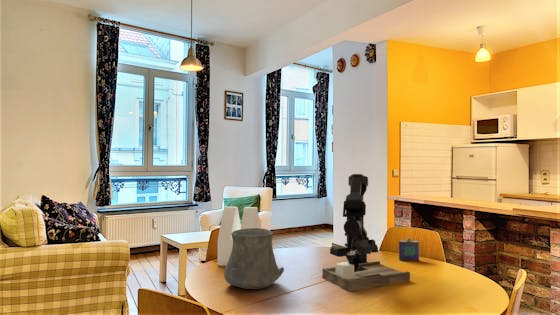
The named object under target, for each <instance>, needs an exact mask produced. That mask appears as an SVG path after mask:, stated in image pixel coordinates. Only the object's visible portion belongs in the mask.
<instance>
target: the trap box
mask: <svg viewBox="0 0 560 315" xmlns="http://www.w3.org/2000/svg"><path fill="white" fill-rule="evenodd" d="M368 262H369V263H361V264H359V265H358V268H357V271H356V272H354V277H353V278H347V279H346V278H344V277H341V276H339V275H337V274H336V266H334V267H333V266H332V267H325V268H322V271H321V272H322V278H323V279H324V280H326V281H328V282H330V283H332V284H334V285H335V286H338V287H340V288H341V289H343V290H345V291H347V292H349V293H350V292H351V293H352V292H356V291H362V290H368V289H373V288H379V287H386V286H391V285H397V284H404V283H409V282H411V272H410V271H400V270H398V269H394V268H392V267H390V266H387V265H383V264H381V261H380V260H377V261H371V262H370V261H368Z"/></svg>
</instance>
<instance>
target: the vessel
mask: <svg viewBox="0 0 560 315" xmlns="http://www.w3.org/2000/svg"><path fill="white" fill-rule="evenodd" d="M231 235H232V239H233V247H232V251H231V254H230V257H229V260H228V262H227V265H226V266H225V267H224V272H223V277H224V280H225V281H226V283H227V284H229V285H231V286H234V287H238V288H242V289H248V290H259V289H260V290H261V289H264V288H267V287H270V286H271V285H272V284H273V283H275V282H276V281H277V280H278V279H280V277H281V276H282V275H283V273H284V271H285V268H284V267H283V266H282V267H278V265H277V262H276V256H275V254H274V248H273V235H274V231H271V230H270V229H266V228H261V229H260V228H248V229H241V230H236V231H234V232H232V233H231Z"/></svg>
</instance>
